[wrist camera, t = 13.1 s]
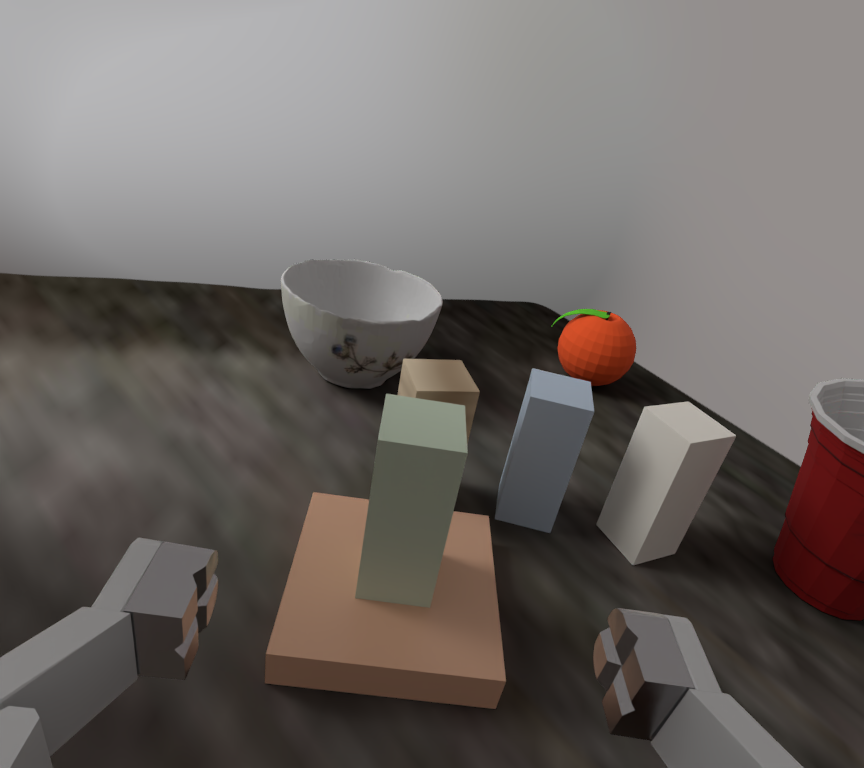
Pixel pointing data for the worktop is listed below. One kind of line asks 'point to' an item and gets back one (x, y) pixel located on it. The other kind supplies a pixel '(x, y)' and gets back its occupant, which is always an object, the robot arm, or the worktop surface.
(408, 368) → the beech post
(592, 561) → the worktop surface
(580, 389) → the dusty blue post
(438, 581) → the terracotta tile
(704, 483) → the cream post
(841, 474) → the plastic cup
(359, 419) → the worktop surface
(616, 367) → the clementine
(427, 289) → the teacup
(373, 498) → the sage green post
